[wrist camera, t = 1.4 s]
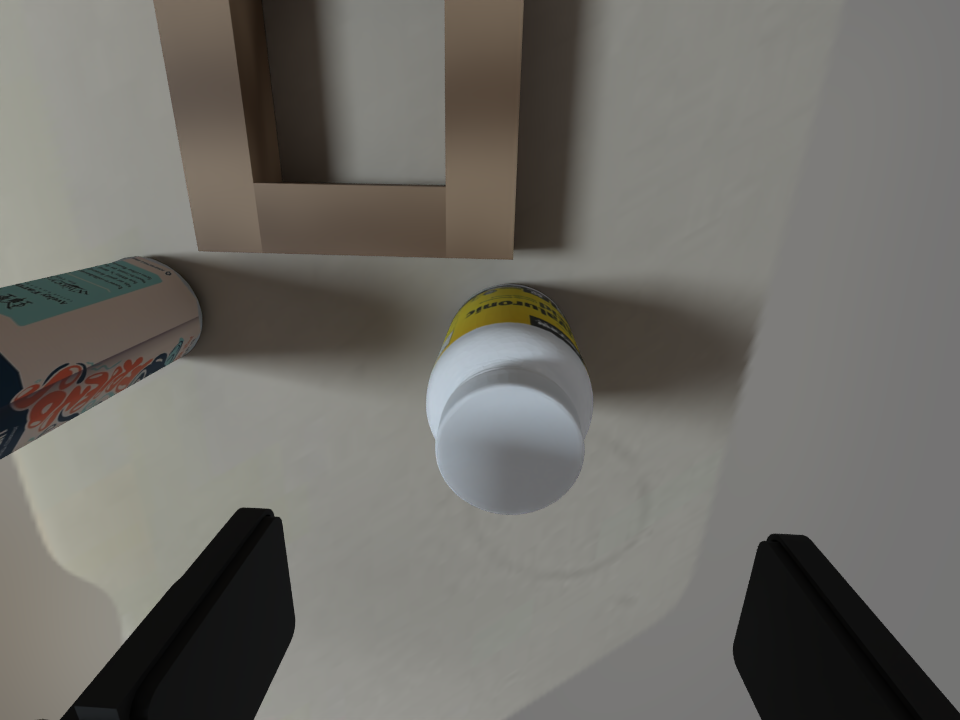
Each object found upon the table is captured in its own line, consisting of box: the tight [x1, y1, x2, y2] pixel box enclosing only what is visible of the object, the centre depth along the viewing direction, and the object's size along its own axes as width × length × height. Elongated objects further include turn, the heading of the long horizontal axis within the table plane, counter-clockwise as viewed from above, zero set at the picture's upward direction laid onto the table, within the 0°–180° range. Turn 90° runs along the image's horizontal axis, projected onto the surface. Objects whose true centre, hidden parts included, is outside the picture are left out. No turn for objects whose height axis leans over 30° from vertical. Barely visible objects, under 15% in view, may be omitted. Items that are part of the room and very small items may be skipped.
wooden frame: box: [153, 0, 524, 260], centre depth 18 cm, size 12×12×2 cm
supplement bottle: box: [426, 284, 593, 515], centre depth 18 cm, size 5×5×10 cm
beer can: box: [0, 256, 202, 459], centre depth 17 cm, size 5×5×12 cm
